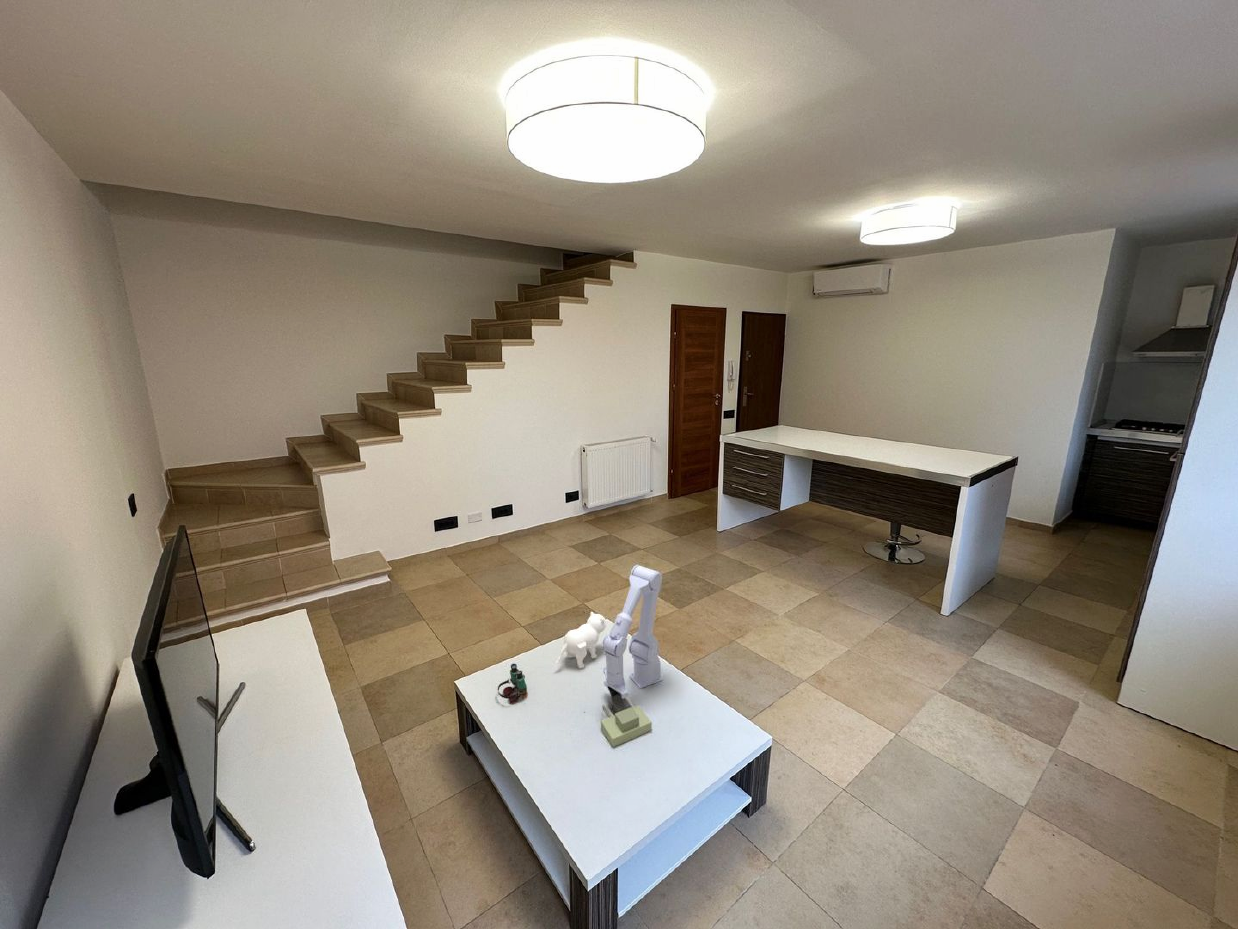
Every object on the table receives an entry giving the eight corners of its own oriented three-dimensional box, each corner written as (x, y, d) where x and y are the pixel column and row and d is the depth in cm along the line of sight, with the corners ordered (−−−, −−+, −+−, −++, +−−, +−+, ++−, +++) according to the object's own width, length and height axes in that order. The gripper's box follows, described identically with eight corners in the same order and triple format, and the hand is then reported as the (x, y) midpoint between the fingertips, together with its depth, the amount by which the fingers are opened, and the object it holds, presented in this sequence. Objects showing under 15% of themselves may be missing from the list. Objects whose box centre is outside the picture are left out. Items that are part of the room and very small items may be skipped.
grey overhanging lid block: (622, 704, 168) (622, 692, 167) (631, 715, 163) (630, 703, 161) (611, 709, 166) (610, 696, 165) (619, 720, 161) (618, 708, 159)
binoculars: (491, 673, 171) (516, 659, 176) (496, 696, 174) (521, 682, 180) (501, 686, 164) (528, 671, 169) (507, 711, 167) (533, 695, 173)
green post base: (627, 697, 171) (626, 683, 169) (651, 730, 157) (651, 714, 155) (590, 712, 165) (590, 697, 163) (612, 747, 150) (612, 731, 149)
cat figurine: (563, 680, 180) (560, 641, 176) (548, 666, 188) (546, 628, 184) (615, 652, 196) (614, 615, 191) (600, 640, 203) (598, 605, 199)
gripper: (595, 660, 168) (596, 693, 172) (614, 685, 156) (615, 720, 159) (613, 653, 172) (614, 686, 175) (633, 678, 159) (633, 713, 163)
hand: (615, 702), depth 168 cm, fingers closed
